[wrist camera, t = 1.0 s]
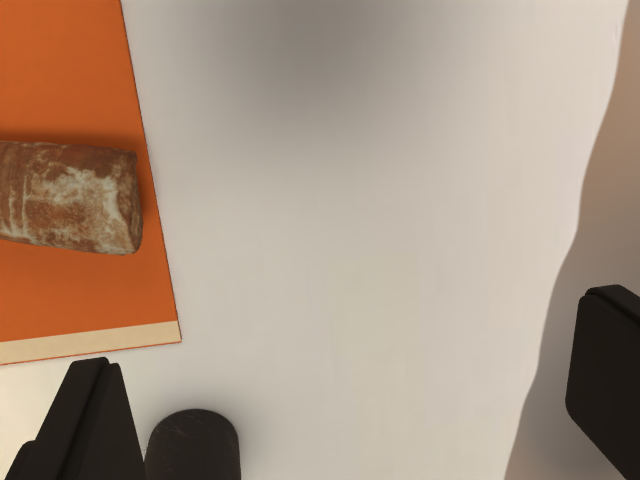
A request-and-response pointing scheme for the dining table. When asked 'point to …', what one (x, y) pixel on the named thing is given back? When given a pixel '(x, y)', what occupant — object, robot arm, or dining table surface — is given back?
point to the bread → (70, 197)
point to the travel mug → (193, 448)
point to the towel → (73, 129)
